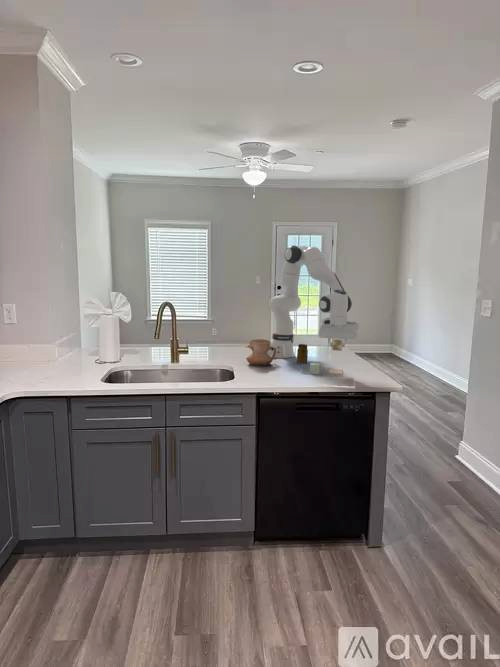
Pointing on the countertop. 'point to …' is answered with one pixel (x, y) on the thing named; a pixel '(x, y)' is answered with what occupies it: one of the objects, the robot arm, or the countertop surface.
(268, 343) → the ceramic jug
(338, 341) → the maple block
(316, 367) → the sage block
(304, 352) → the condiment
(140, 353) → the countertop surface
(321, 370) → the grey flat slab
